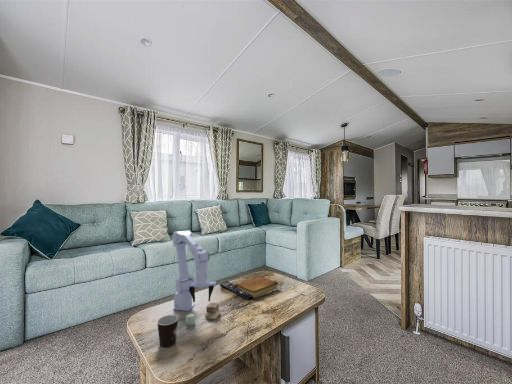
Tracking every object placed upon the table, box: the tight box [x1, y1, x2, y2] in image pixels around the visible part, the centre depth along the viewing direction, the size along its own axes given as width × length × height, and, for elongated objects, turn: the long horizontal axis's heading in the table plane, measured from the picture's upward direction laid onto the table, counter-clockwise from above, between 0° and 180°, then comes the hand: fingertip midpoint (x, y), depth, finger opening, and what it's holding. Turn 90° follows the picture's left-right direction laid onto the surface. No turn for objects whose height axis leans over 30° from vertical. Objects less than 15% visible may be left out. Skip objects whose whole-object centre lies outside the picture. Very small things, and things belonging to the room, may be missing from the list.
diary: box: [234, 275, 279, 300], centre depth 161 cm, size 23×19×6 cm
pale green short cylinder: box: [185, 313, 196, 327], centre depth 119 cm, size 4×4×4 cm
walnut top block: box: [205, 302, 220, 313], centre depth 127 cm, size 5×5×3 cm
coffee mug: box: [156, 314, 179, 348], centre depth 105 cm, size 12×9×10 cm
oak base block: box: [204, 308, 221, 320], centre depth 127 cm, size 6×6×3 cm
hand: (201, 301), depth 122 cm, fingers open, 7 cm apart
